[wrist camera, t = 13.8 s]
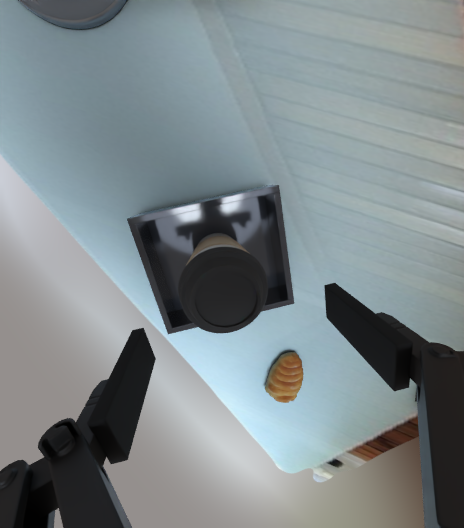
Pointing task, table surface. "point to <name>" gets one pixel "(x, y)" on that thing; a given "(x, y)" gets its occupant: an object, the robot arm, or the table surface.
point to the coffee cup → (222, 285)
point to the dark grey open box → (201, 225)
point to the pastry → (285, 378)
